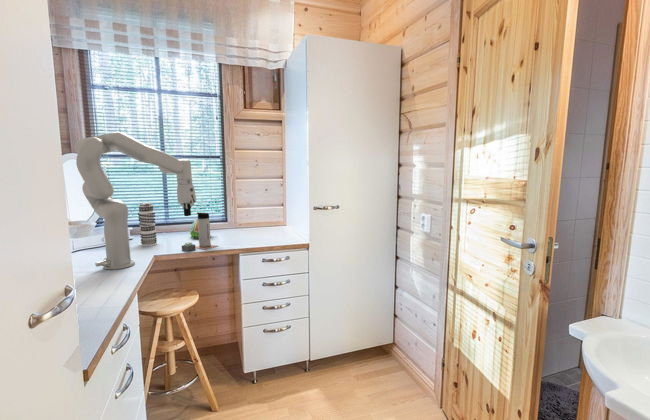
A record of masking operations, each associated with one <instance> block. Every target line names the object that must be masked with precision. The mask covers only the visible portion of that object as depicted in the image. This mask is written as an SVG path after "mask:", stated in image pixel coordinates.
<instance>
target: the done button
mask: <svg viewBox="0 0 650 420" xmlns="http://www.w3.org/2000/svg"><path fill="white" fill-rule="evenodd" d="M192 244H193V243H192V242H189V241H188V242H185V243H184V245H185V246H192Z"/></svg>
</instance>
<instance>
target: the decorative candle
mask: <svg viewBox="0 0 650 420" xmlns="http://www.w3.org/2000/svg"><path fill="white" fill-rule="evenodd" d="M154 206H155V205H153V204H152V203H151V202H142V203H140V204H139V205H138V213H137V216H138V221H139V223H138V224H139V227H140V238H141V239H140V241H141V242H140V244H141V245H140V246H141V247H153V246H156V245H158V243H157V242H158V239H157V232H156V227H155V226H156V218H155V217H156V212H155V210H154Z"/></svg>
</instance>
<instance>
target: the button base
mask: <svg viewBox="0 0 650 420" xmlns="http://www.w3.org/2000/svg"><path fill="white" fill-rule="evenodd" d="M195 247H196V244H193V243H192V246H185V244H183V245H181V251H182V252H186V253H189V252H193V251H196V248H195Z"/></svg>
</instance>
